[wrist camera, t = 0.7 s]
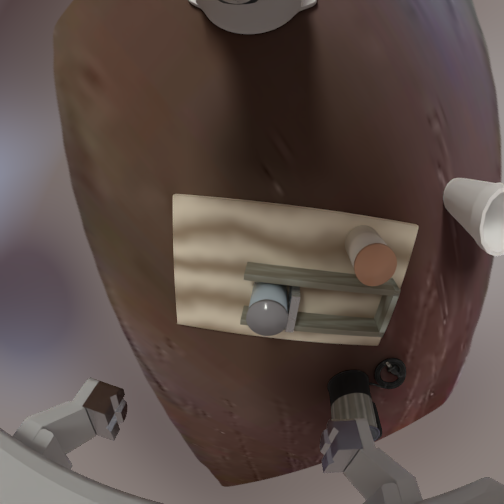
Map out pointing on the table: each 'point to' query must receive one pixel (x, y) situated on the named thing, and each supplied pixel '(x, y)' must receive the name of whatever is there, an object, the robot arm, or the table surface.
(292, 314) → the pusher
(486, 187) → the foam cup
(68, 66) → the table surface
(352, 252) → the jar
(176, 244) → the cream rippled cloth
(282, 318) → the jar
